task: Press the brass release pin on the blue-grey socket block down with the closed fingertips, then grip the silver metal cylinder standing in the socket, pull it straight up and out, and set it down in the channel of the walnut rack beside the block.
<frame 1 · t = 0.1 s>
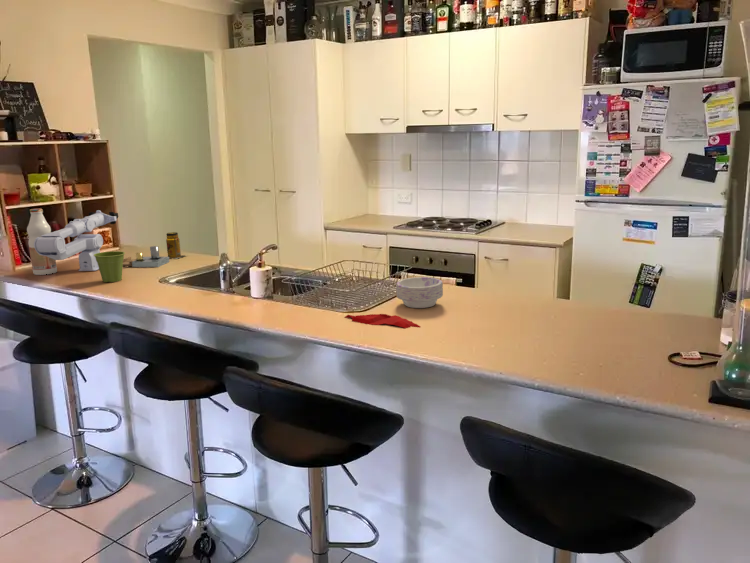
hand: (109, 215, 295), 22 cm above the worktop, tool horizontal, fingers open, 7 cm apart
socket block: (151, 264, 288), on the worktop
rack: (130, 264, 290), on the worktop
fruit juice: (45, 273, 275), on the worktop
release pin: (139, 257, 284), point 4 cm above the worktop, slide at 0.0 cm
silver metal cylinder: (155, 263, 289), resting in socket block
cloth: (384, 324, 190), on the worktop
plant pot: (112, 281, 256), on the worktop
condiment: (175, 257, 305), on the worktop
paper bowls: (419, 305, 208), on the worktop
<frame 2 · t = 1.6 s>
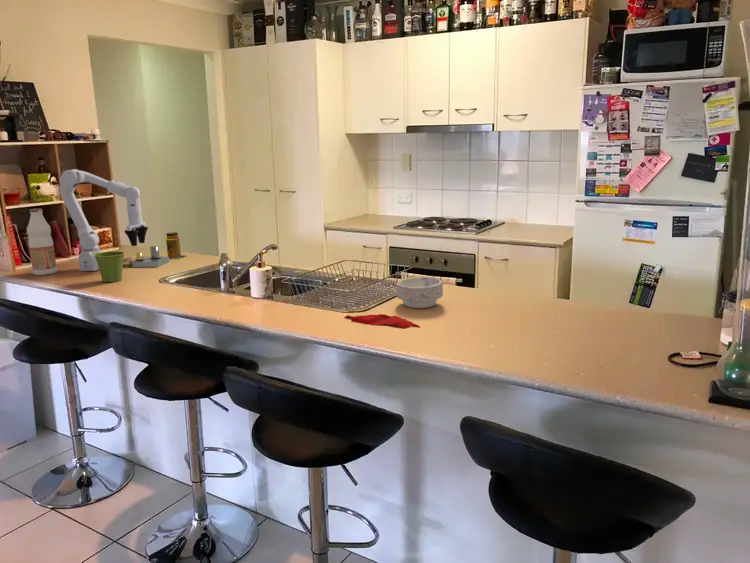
hand: (138, 244, 282), 10 cm above the worktop, tool pointing down, fingers open, 7 cm apart
nothing on the worktop moved.
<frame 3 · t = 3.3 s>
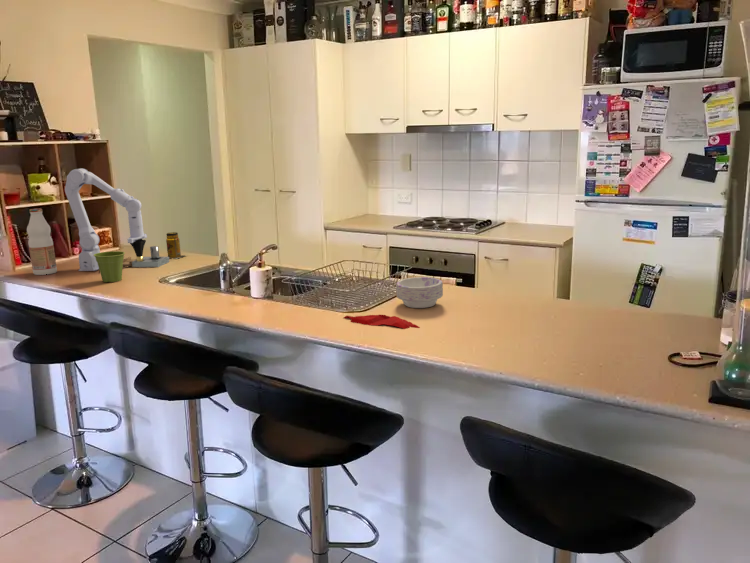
hand: (139, 256, 284), 4 cm above the worktop, tool pointing down, fingers closed, pressing on release pin
release pin: (139, 260, 284), point 2 cm above the worktop, slide at 1.5 cm, touching gripper
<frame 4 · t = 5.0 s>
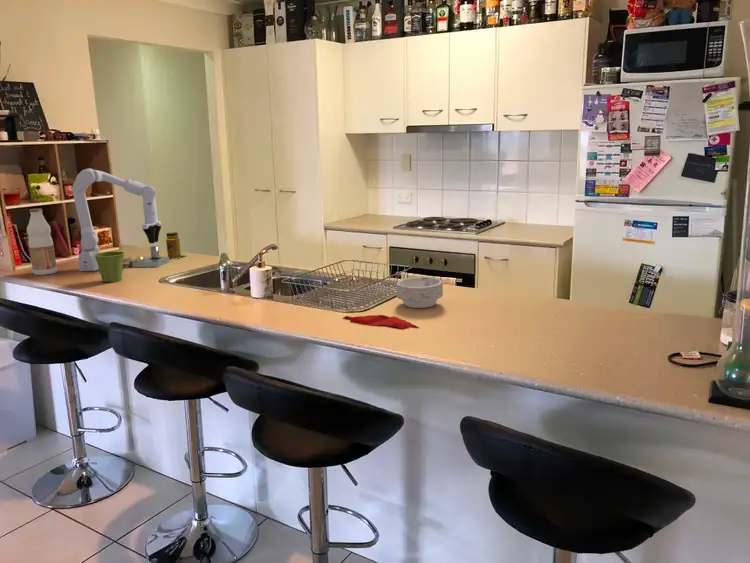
hand: (153, 242, 287), 10 cm above the worktop, tool pointing down, fingers open, 3 cm apart
release pin: (140, 261, 284), point 2 cm above the worktop, slide at 1.7 cm
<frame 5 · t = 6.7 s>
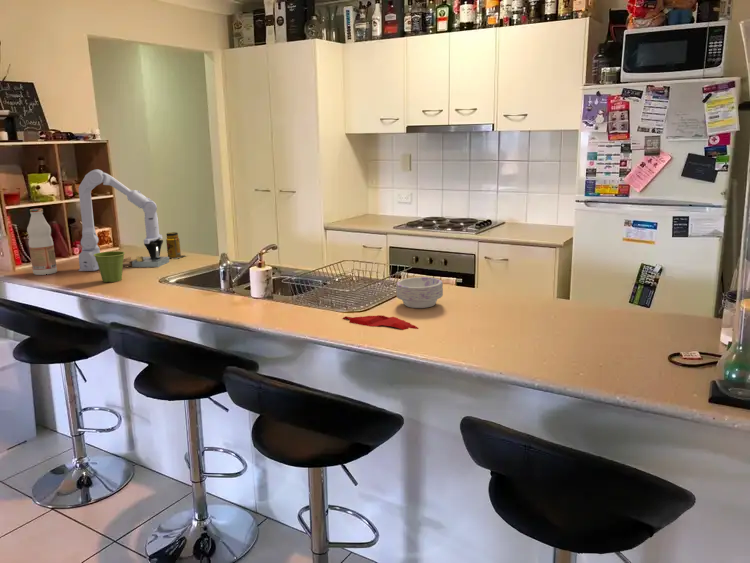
hand: (155, 256, 288), 3 cm above the worktop, tool pointing down, fingers closed on silver metal cylinder, 4 cm apart
silver metal cylinder: (155, 263, 289), resting in socket block, touching gripper
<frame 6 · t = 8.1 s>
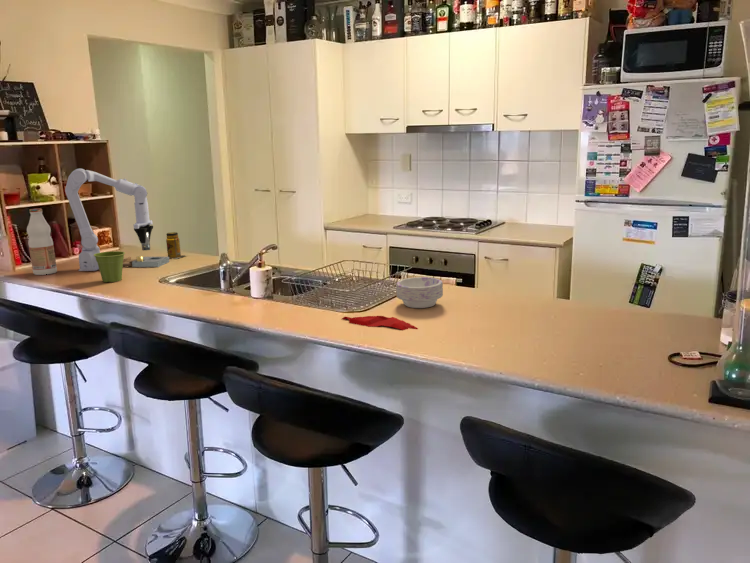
hand: (145, 242, 287), 10 cm above the worktop, tool pointing down, fingers closed on silver metal cylinder, 4 cm apart
silver metal cylinder: (146, 249, 288), point 7 cm above the worktop, touching gripper
when the fingers open (6 cm above the worktop, at t = 9.8 s): silver metal cylinder drops 1 cm, resting on rack.
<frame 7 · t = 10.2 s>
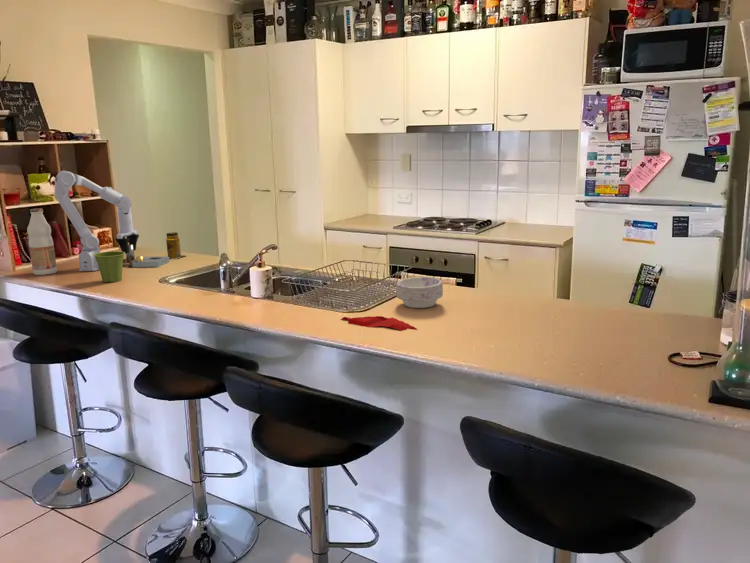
hand: (129, 251, 288), 6 cm above the worktop, tool pointing down, fingers open, 7 cm apart
silver metal cylinder: (130, 261, 289), point 1 cm above the worktop, touching rack
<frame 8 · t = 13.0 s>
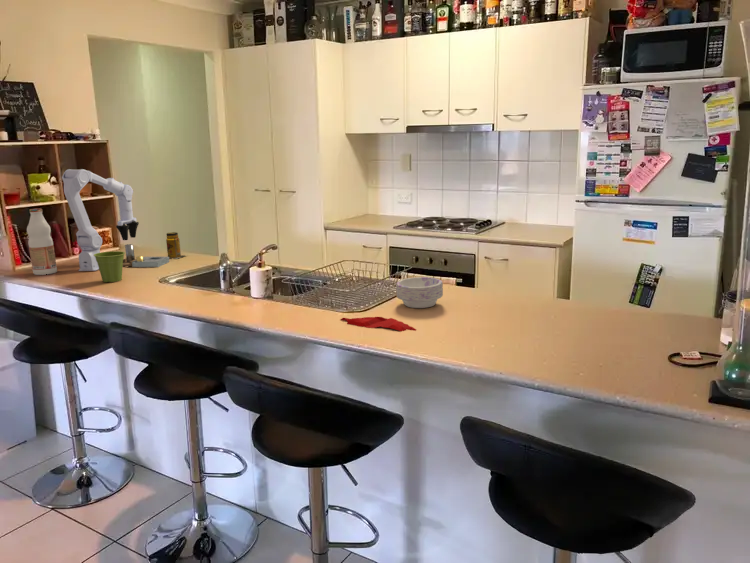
hand: (129, 238, 298), 10 cm above the worktop, tool pointing down, fingers open, 7 cm apart
at the end: silver metal cylinder inside the target area on the rack (0.3 cm from its centre), point 1.0 cm above the rack's base; release pin slide at 1.7 cm; the gripper is holding nothing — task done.
